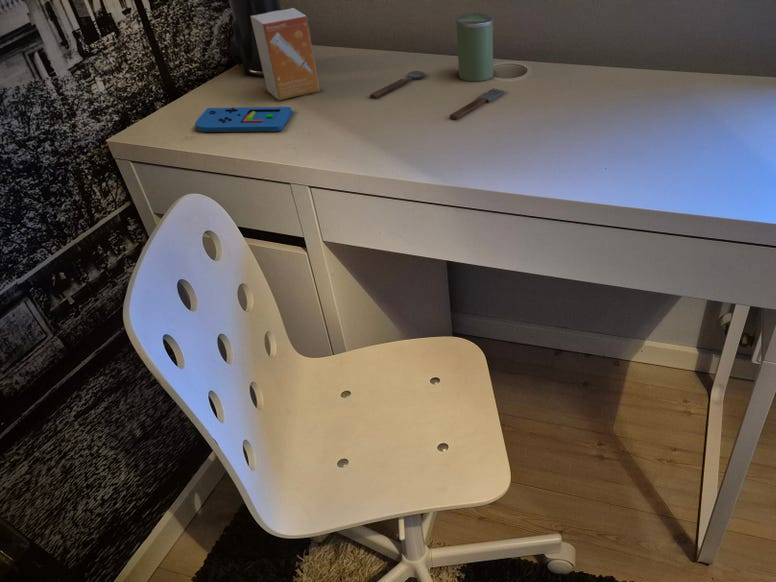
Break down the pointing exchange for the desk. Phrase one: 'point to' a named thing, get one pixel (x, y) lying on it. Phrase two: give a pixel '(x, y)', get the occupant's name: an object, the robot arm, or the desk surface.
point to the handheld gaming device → (243, 119)
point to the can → (475, 46)
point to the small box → (286, 53)
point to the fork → (477, 103)
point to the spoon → (398, 84)
